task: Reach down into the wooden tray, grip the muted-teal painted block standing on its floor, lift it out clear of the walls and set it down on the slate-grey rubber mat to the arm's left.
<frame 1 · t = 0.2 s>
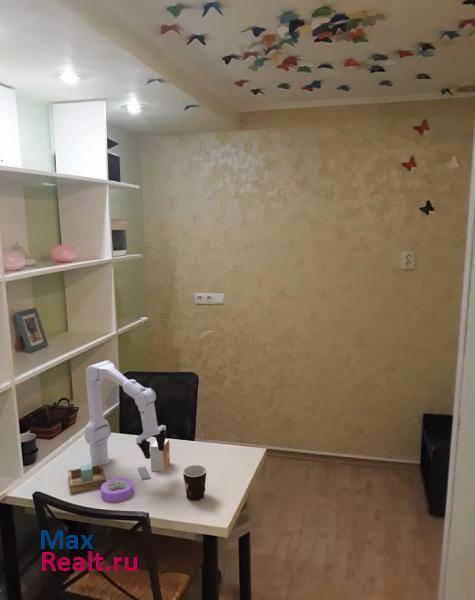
hand: (154, 454, 187), 11 cm above the table, tool pointing down, fingers open, 7 cm apart
small box: (160, 467, 199), on the table
masking tape: (117, 495, 179), on the table
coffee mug: (195, 498, 175), on the table
mat: (135, 475, 192), on the table
block: (87, 481, 187), resting on wooden tray
wooden tray: (87, 483, 187), on the table
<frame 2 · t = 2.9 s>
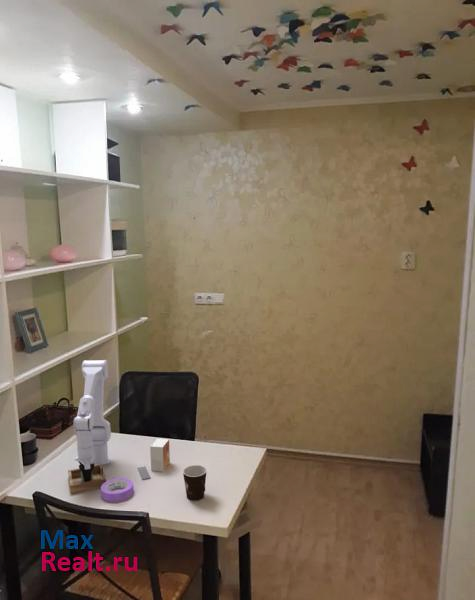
hand: (86, 478, 187), 2 cm above the table, tool pointing down, fingers closed on block, 4 cm apart
block: (87, 481, 187), resting on wooden tray, touching gripper
everything else where it was.
when the fingers open (3 cm above the table, at t = 6.5 s): block stays where it is, resting on mat.
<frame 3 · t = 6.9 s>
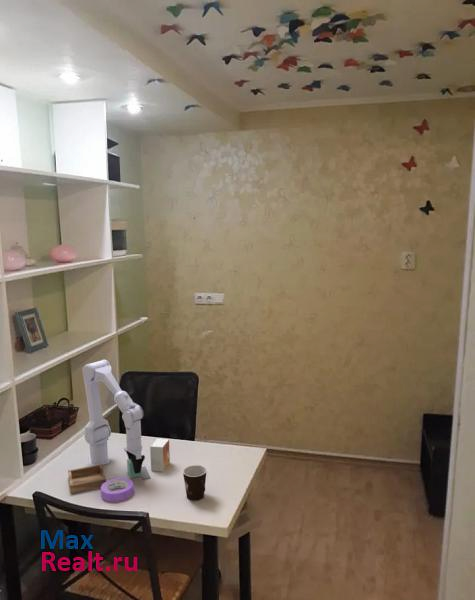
hand: (135, 468, 192), 3 cm above the table, tool pointing down, fingers open, 7 cm apart
block: (133, 474, 192), resting on mat
everything else where it was.
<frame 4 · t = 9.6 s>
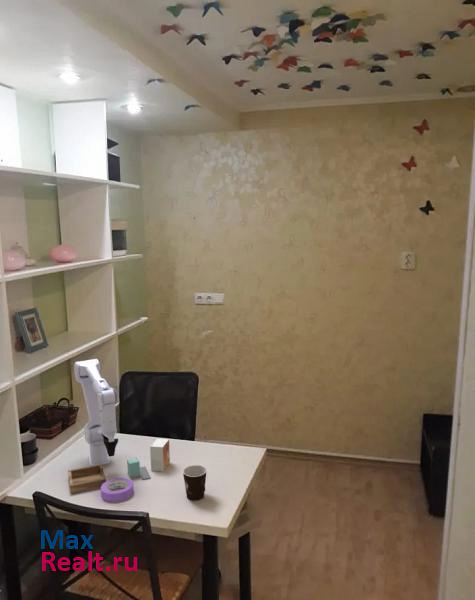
hand: (110, 451, 191), 10 cm above the table, tool pointing down, fingers open, 7 cm apart
nothing on the table moved.
at the end: block inside the target area on the mat (0.7 cm from its centre), point 0.4 cm above the mat's base; block tilted 0°; the gripper is holding nothing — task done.
